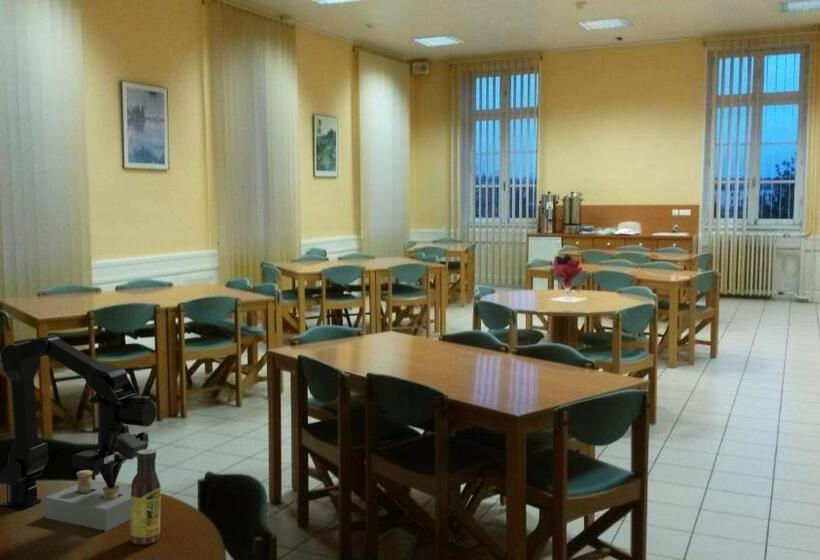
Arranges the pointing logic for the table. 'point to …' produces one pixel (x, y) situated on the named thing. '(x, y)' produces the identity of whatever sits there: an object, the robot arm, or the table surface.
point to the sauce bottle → (145, 500)
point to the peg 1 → (84, 482)
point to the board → (90, 507)
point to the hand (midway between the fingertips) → (111, 487)
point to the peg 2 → (111, 492)
